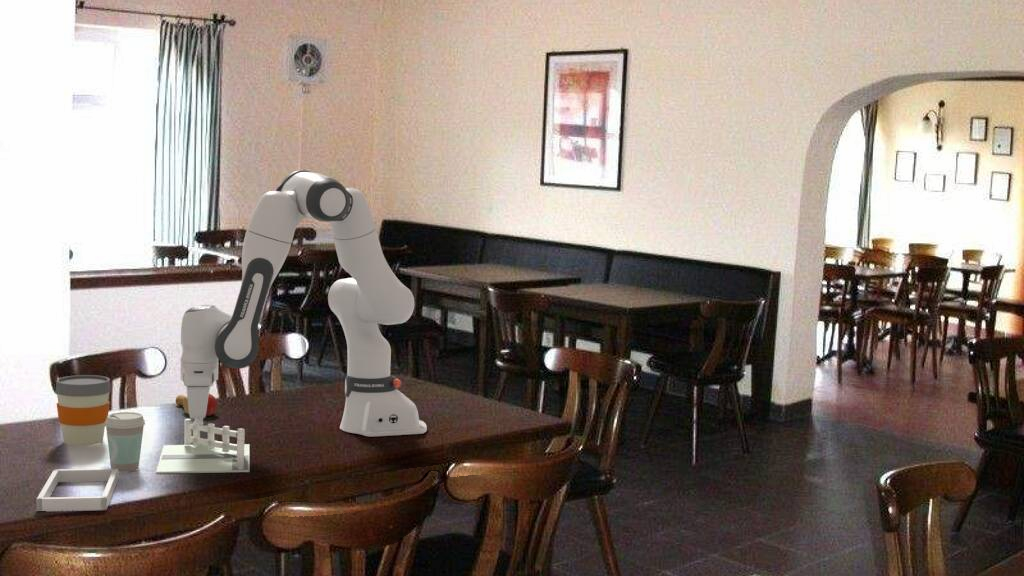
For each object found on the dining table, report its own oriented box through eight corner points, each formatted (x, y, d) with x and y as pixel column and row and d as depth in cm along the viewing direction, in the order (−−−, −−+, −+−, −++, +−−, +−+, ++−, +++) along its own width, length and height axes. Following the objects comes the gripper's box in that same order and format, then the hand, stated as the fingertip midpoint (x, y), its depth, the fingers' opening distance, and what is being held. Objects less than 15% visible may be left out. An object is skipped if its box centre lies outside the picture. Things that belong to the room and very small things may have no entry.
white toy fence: (246, 454, 283) (246, 429, 283) (241, 455, 282) (241, 430, 281) (187, 443, 292) (187, 418, 291) (182, 444, 290) (182, 419, 289)
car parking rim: (118, 479, 261) (118, 468, 261) (106, 510, 240) (106, 497, 239) (54, 480, 258) (54, 469, 258) (36, 511, 237) (36, 499, 237)
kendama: (165, 412, 333) (196, 415, 320) (167, 389, 334) (198, 391, 321) (190, 414, 338) (222, 417, 325) (193, 391, 339) (225, 393, 326)
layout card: (249, 445, 295) (249, 443, 295) (249, 471, 271) (249, 469, 271) (163, 446, 290) (163, 444, 290) (156, 473, 267) (156, 471, 267)
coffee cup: (109, 463, 274) (109, 411, 272) (148, 464, 275) (148, 411, 273) (100, 473, 265) (100, 419, 264) (140, 474, 266) (140, 420, 265)
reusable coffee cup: (121, 438, 296) (121, 378, 295) (87, 450, 285) (87, 386, 283) (78, 433, 301) (78, 373, 299) (43, 443, 289) (43, 381, 287)
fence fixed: (237, 457, 282) (237, 430, 281) (244, 457, 282) (244, 430, 281) (236, 469, 271) (236, 441, 270) (243, 469, 271) (244, 441, 270)
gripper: (187, 364, 302) (187, 419, 304) (183, 380, 282) (183, 438, 284) (214, 364, 304) (213, 419, 305) (211, 380, 284) (211, 438, 285)
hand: (198, 428), depth 294 cm, fingers closed
